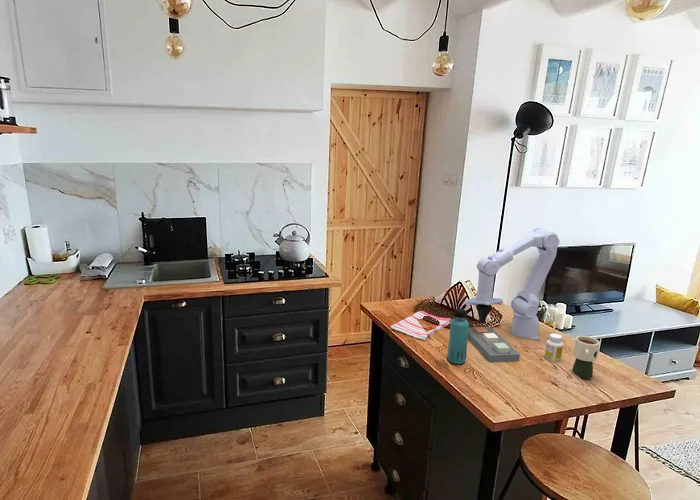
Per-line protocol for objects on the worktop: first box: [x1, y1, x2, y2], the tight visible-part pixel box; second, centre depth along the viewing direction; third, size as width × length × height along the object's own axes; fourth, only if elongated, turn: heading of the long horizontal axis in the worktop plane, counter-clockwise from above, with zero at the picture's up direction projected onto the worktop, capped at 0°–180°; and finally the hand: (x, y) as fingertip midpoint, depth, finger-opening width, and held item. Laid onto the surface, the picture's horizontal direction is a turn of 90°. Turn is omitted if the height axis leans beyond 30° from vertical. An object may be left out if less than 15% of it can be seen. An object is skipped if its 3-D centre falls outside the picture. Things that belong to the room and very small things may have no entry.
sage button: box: [493, 343, 510, 354], centre depth 160 cm, size 4×4×3 cm
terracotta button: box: [473, 326, 488, 334], centre depth 177 cm, size 4×4×3 cm
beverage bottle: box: [446, 308, 470, 365], centre depth 155 cm, size 6×7×20 cm
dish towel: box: [390, 310, 453, 342], centre depth 188 cm, size 17×23×4 cm
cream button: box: [483, 333, 499, 343], centre depth 168 cm, size 4×4×3 cm
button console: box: [467, 326, 521, 363], centre depth 169 cm, size 11×24×4 cm, turn 8°
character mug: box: [571, 335, 601, 379], centre depth 150 cm, size 11×7×13 cm, turn 154°
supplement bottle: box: [544, 333, 564, 363], centre depth 160 cm, size 5×5×10 cm
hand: (481, 321), depth 176 cm, fingers closed
